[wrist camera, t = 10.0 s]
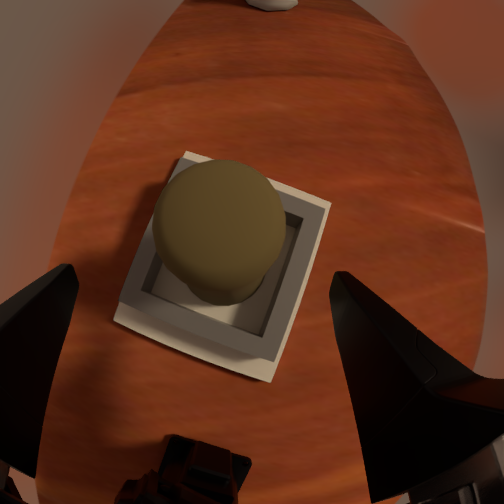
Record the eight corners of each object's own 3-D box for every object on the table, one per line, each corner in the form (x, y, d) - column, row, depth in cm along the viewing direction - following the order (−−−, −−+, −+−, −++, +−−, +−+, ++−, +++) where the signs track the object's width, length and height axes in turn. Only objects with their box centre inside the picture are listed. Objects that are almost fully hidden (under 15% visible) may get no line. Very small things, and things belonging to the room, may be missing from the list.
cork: (172, 295, 20) (110, 279, 9) (192, 213, 21) (160, 124, 10) (257, 314, 20) (289, 319, 9) (274, 230, 21) (316, 154, 10)
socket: (268, 379, 20) (275, 392, 17) (117, 320, 20) (98, 321, 17) (327, 207, 23) (342, 190, 20) (187, 156, 23) (182, 133, 20)
